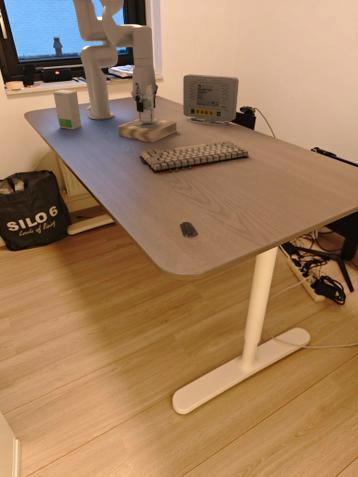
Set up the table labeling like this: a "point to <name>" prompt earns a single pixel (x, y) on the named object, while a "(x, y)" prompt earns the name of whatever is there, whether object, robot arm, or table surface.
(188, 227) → the block
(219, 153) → the mechanical keyboard
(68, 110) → the skincare box
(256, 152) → the table surface
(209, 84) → the network device
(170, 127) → the birch platform
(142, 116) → the syrup box
